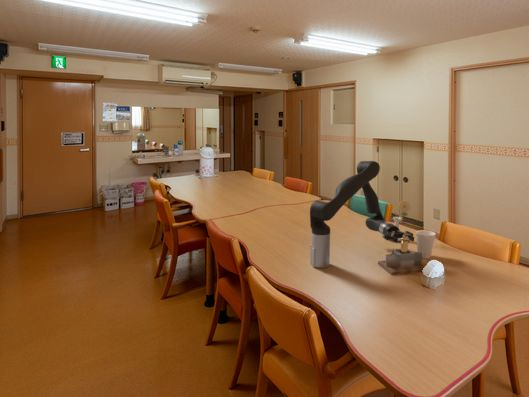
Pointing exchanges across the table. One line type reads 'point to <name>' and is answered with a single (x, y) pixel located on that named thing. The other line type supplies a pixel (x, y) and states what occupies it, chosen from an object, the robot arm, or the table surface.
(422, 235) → the foam cup
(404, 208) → the flower in vase
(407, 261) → the grey winged socket holder
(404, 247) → the brass capped peg
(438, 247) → the table surface
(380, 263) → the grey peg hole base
